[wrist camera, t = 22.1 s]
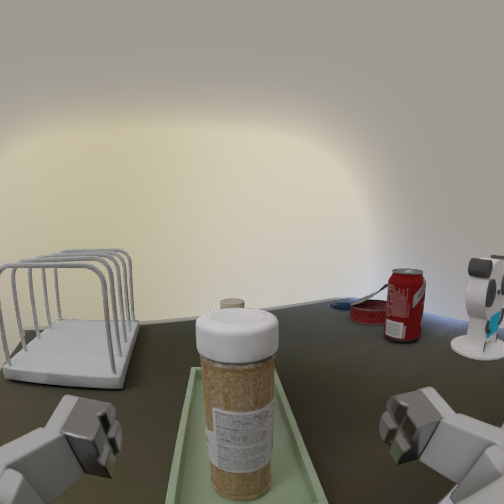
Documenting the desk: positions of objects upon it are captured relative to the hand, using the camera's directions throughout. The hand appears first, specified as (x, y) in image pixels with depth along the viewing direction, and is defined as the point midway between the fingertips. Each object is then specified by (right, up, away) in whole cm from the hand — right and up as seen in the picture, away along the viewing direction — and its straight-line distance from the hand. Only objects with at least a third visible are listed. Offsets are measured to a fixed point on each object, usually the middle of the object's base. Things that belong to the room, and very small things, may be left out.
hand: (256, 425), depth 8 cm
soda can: (+26, -10, +40) cm, 49 cm away
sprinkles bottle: (-1, -12, +10) cm, 16 cm away
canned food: (+25, -9, +53) cm, 60 cm away
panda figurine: (+37, -11, +30) cm, 49 cm away
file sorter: (-27, -11, +33) cm, 44 cm away
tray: (-1, -12, +17) cm, 21 cm away
